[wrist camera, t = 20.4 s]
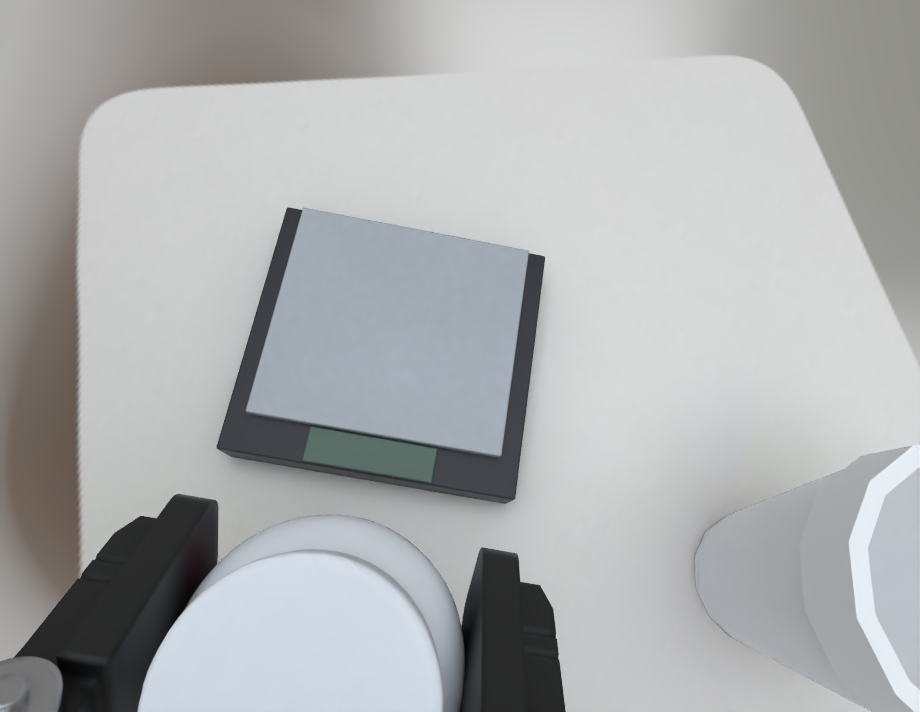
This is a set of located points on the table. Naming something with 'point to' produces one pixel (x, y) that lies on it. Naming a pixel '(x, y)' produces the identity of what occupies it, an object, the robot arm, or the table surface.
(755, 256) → the table surface
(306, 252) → the scale
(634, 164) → the table surface
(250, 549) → the pill bottle
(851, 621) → the foam cup
